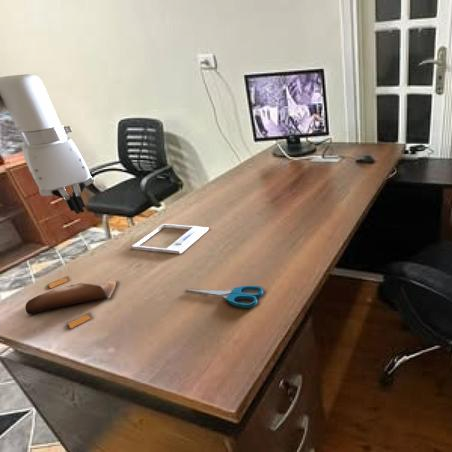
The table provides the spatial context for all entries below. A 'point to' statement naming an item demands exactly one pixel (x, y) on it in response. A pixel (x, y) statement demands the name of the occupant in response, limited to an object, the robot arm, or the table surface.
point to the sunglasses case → (70, 295)
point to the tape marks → (77, 321)
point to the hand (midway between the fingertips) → (79, 211)
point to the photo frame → (178, 244)
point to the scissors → (236, 295)
